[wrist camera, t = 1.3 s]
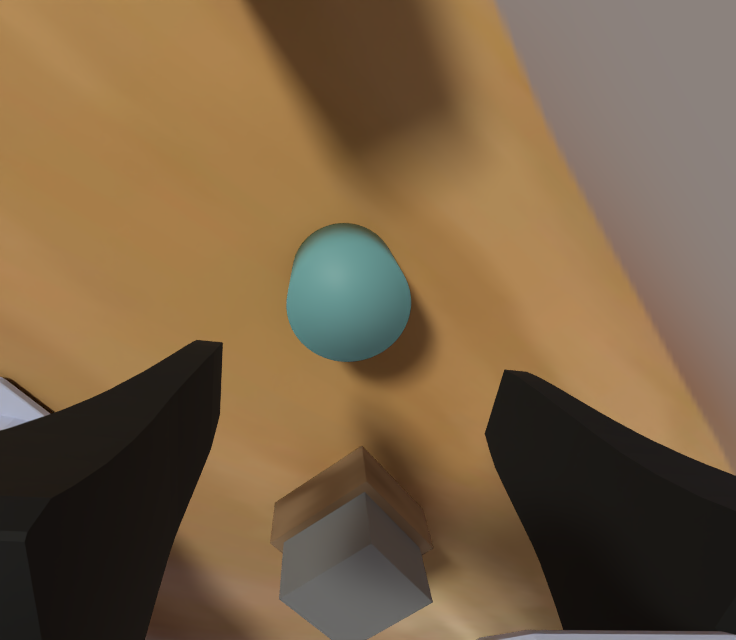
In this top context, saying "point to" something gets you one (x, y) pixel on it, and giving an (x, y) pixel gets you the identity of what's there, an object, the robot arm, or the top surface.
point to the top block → (353, 572)
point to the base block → (348, 499)
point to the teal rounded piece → (347, 294)
